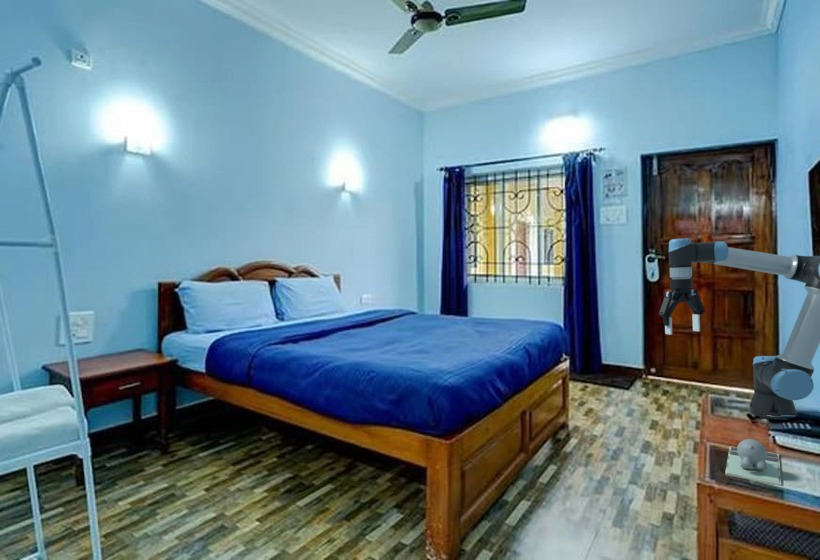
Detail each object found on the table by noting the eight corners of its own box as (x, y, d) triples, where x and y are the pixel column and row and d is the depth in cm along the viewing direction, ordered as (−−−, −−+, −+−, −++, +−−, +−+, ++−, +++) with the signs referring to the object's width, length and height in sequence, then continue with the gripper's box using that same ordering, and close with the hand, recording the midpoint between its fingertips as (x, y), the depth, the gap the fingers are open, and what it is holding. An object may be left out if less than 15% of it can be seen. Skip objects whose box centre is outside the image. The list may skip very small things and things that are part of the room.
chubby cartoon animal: (763, 471, 145) (760, 442, 147) (770, 471, 135) (768, 440, 137) (734, 467, 148) (733, 438, 151) (740, 467, 138) (738, 436, 141)
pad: (730, 455, 152) (730, 454, 152) (777, 463, 145) (777, 462, 145) (727, 473, 140) (727, 472, 140) (778, 482, 132) (778, 482, 132)
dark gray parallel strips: (731, 447, 158) (731, 446, 158) (776, 454, 151) (776, 454, 151) (730, 454, 152) (730, 453, 152) (777, 462, 145) (777, 461, 145)
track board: (729, 447, 159) (729, 446, 159) (778, 455, 151) (778, 453, 151) (725, 475, 140) (725, 473, 140) (781, 485, 132) (781, 483, 132)
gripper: (697, 276, 192) (699, 328, 193) (647, 280, 185) (649, 334, 186) (714, 276, 185) (716, 330, 186) (662, 280, 178) (664, 336, 179)
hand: (682, 332), depth 186 cm, fingers open, 13 cm apart
